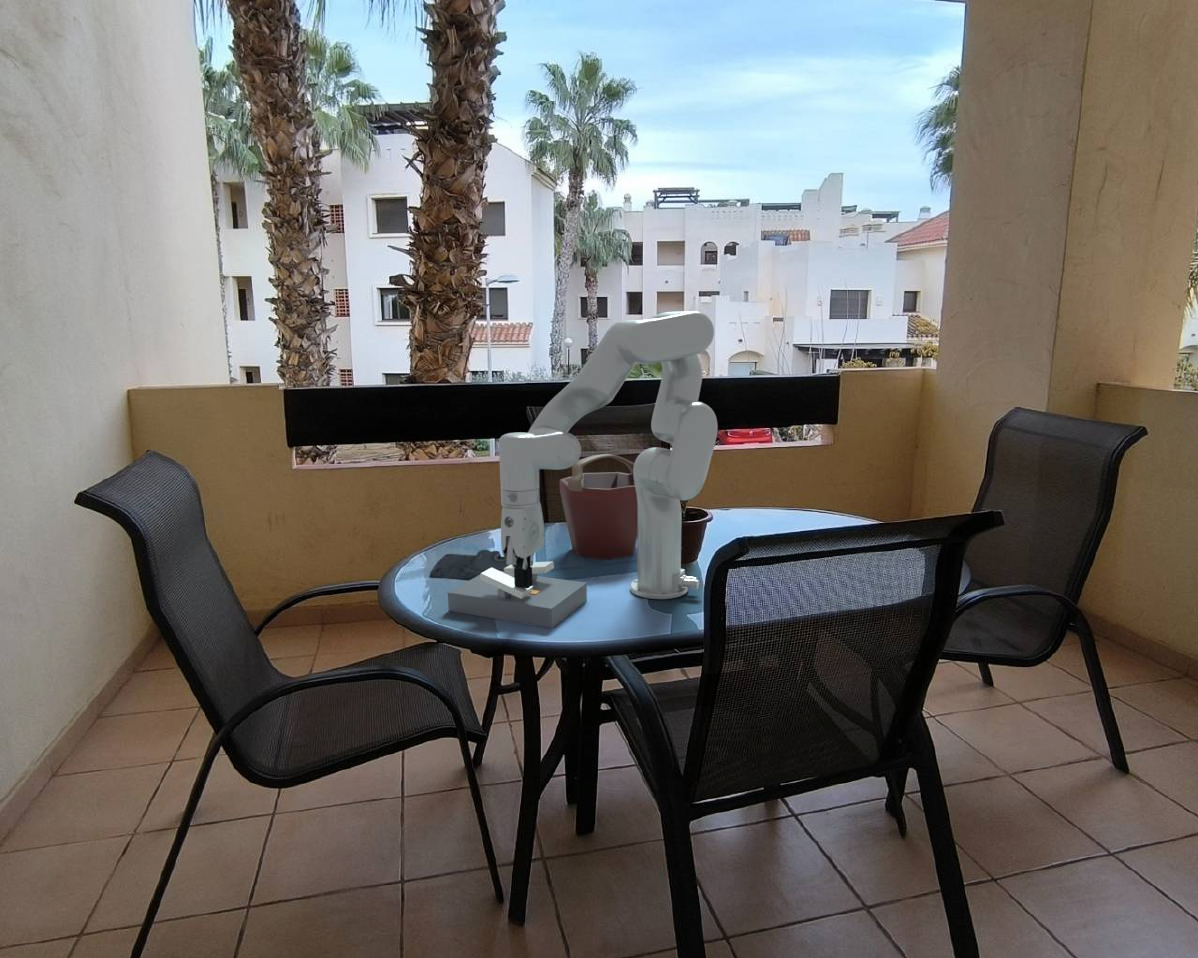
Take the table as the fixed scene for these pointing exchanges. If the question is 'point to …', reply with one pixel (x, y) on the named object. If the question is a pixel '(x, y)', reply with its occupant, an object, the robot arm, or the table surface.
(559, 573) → the table surface
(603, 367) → the robot arm
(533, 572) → the back rocker
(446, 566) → the dark slate chunk
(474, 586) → the switch box
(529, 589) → the front rocker
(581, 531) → the bucket
